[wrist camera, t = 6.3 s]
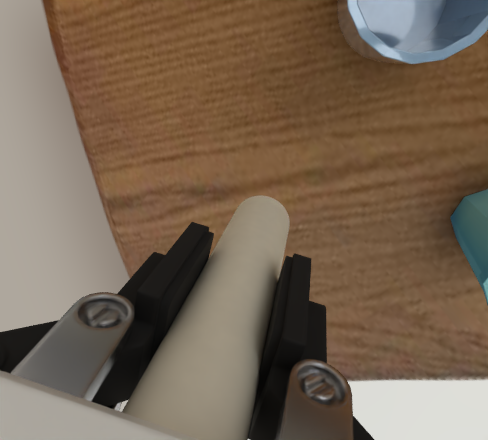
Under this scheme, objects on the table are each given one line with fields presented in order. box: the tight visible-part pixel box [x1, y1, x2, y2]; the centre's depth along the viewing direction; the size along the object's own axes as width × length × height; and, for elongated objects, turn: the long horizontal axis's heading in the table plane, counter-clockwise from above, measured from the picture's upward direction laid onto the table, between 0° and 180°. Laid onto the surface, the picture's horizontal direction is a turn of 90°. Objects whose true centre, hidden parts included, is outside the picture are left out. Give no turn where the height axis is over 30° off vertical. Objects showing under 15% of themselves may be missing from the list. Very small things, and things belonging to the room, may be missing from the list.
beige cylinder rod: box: [122, 196, 290, 440], centre depth 10 cm, size 2×2×14 cm
